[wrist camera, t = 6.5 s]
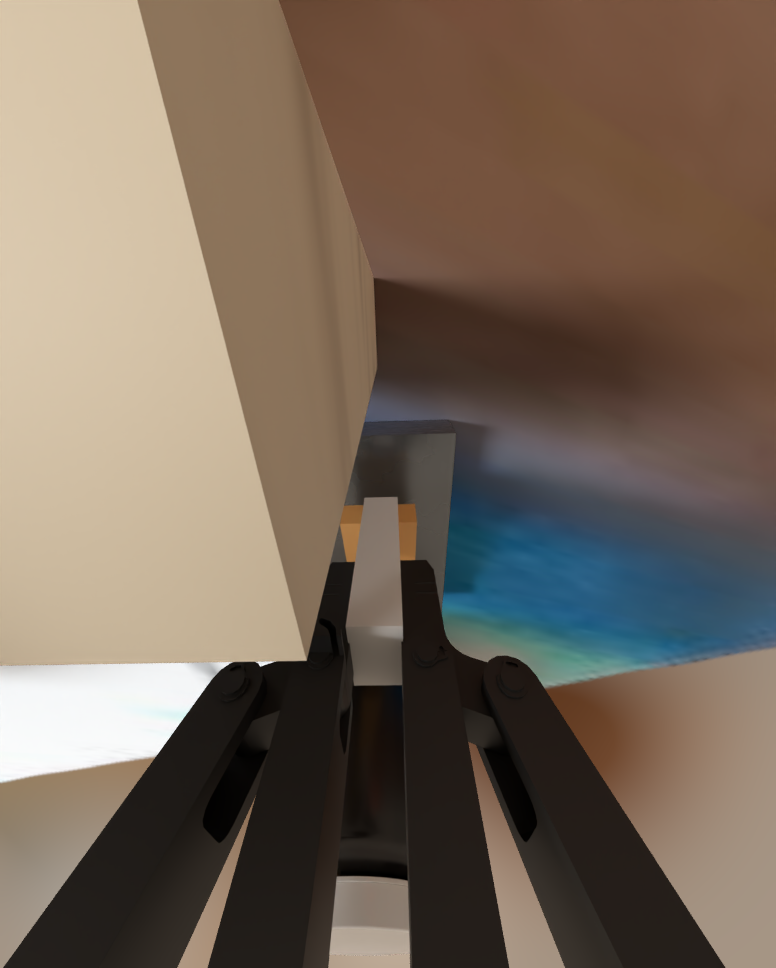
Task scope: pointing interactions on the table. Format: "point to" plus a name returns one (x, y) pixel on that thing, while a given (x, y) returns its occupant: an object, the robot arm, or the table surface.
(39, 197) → the birch block
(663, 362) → the table surface
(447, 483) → the grey square base
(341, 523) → the orange wooden board
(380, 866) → the jar
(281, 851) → the robot arm
